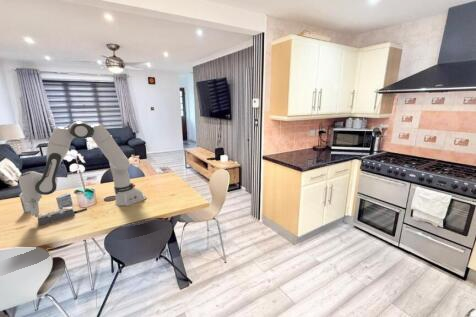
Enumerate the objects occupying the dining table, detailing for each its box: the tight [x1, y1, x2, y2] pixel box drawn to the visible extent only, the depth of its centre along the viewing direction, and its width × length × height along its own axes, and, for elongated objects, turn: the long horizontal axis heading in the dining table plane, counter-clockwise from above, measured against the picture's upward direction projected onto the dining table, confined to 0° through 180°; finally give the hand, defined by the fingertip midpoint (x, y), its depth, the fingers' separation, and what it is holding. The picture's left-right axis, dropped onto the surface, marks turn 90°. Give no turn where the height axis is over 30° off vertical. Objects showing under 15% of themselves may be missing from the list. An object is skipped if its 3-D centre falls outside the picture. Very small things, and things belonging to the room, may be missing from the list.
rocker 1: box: [37, 211, 49, 220], centre depth 148 cm, size 5×4×2 cm
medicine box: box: [55, 193, 74, 209], centre depth 170 cm, size 8×4×9 cm, turn 160°
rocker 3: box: [63, 206, 74, 211], centre depth 156 cm, size 5×4×2 cm
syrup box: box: [18, 192, 31, 213], centre depth 164 cm, size 6×6×14 cm
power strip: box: [37, 205, 88, 226], centre depth 156 cm, size 27×8×4 cm, turn 132°
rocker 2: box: [49, 208, 61, 216], centre depth 152 cm, size 5×4×2 cm
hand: (36, 216), depth 146 cm, fingers closed, pressing on rocker 1
